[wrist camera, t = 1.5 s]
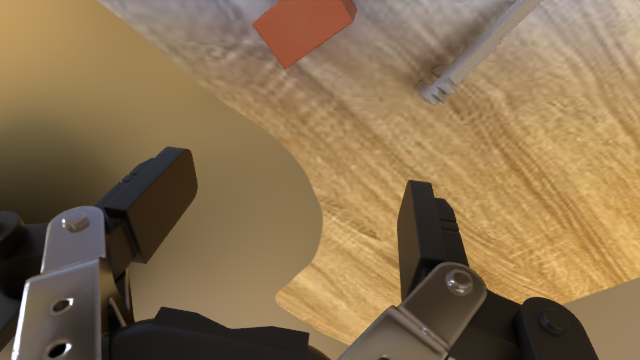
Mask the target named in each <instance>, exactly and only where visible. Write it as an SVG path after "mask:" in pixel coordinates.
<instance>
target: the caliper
mask: <svg viewBox="0 0 640 360" xmlns="http://www.w3.org/2000/svg"><path fill="white" fill-rule="evenodd" d="M541 1H542V0H517V1H516V2H515V3H514V4H513V5H512V6H511V7H510V8H509V9H508V10H507V11H506V12H505V13H504V14H503V15H502V16H501V17H500V18H498V19H497V20H496V21H495V22H494V23H493V24H492V25H491V26H490V27H489V28H488V29H487V30H486V31H485V32H484V33H479V34H478V35H477V36H476V37H475V38H474V39H473V41H472V42H471V43H470V44H468V45H467V46H466V47H465V48H464V49H463V50H462V52H461V53H460V54H459V55H458V56H457V58H456V59H455V60H454V61H453V62H452V63H451V64H446V65H442V66H437V67H435V68H433V69H432V70H431V71H432V72H433V73H434V74H435V75H436V76H437V77H438V79H437V80H436V81H435V82H434V83H433V84H432V85H430V84H427V83H425V82H422V81H420V82H419V83H418V85H417V86H418V90H419V94H420V96H421V97H422V98H423V99H424V100H425V101H426V102H428V103H430V104H432V105H434V106H435V105H436V104H437V103H438V102H439V101H441V102H442V103H445V102H446V96H445V94H446V95H450V94H454V93H456V91H455V90H454V88H453V87H452V86H454V85H457V84H459V83H460V82H461V81H462V80H463V79H464V78H465V77H466V76H467V75H468V74H469V73H470V72H471V71H472V70H473V69H474V68H475V67H476V66H477V65H478V64H479V63H480V62H482V61H483V60H484V59H485V58H486V57H487V56H488V55H489V54H490V53H491V52H492V51H493V50H494V49H495V48H496V47H497V46H498V45H499V44H500V43H501V42H500V41H501V40H502V39H503V38H504V37H505V36H506V35H507V34H508V33H509V32H510V31H511V30H512V29H513V28H514V27H515V26H516V25H517V24H518V23H519V22H520V21H521V20H523V19H524V18H525V17H526V16H527V15H528V14H529V13H530V12H531V11H532V10H533V9H534V8H535V7H536V6H537V5H538V4H539V3H540V2H541Z"/></svg>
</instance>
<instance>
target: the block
mask: <svg viewBox="0 0 640 360" xmlns="http://www.w3.org/2000/svg"><path fill="white" fill-rule="evenodd" d="M356 12H357V9H356V7H355V5H354V3H353V2H352V0H280V1H279V2H278V3H276V4H275V5H274V6H273V7H272V8H270V9H269V10H268V11H267V12H266V13H264V14H263V15H262V16H261V17H260V18H258V19H257V20H256V21H255V22H254V23H253V26H254V27H255V29H256V30H257V31H258V33H259V34H260V36H261V37H262V38H263V40H264V41H265V43H266V44H267V45H268V47H269V48H270V50H271V51H272V52H273V54H274V55H275V57H276V58H277V59H278V61H279V62H280V64H281V65H282V66H283V68H284V69H287V68H288V67H289V66H291V65H292V64H294V63H295V62H296V61H298V60H299V59H301V58H302V57H304V56H305V55H306V54H308V53H309V52H311V51H312V50H313V49H315V48H316V47H318V46H319V45H320V44H322V43H323V42H325V41H326V40H328V39H329V38H330V37H332V36H333V35H335V34H336V33H337V32H339V31H340V30H342V29H343V28H345V27H346V26H347V25H349V24H350V23H352V22H353V20H354V17H355V15H356Z"/></svg>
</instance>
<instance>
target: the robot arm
mask: <svg viewBox="0 0 640 360" xmlns="http://www.w3.org/2000/svg"><path fill="white" fill-rule="evenodd" d="M197 188H198V184H197V178H196V173H195V168H194V162H193V157H192V153H191V151H190V150H189V149H183V148H175V147H166V148H165V149H164V150H163V151H161V153H159V154H158V155H157V156H156V157H155V158H151V159H149V160H147V161H145V162H143V163H141V164H139V165H138V166H137V167H135V168H134V169H133V170H132V171H131V172H130V173H129V175H127V176H125V177H124V178H123V179H122V182H119V183H118V184H117V185H115V186H114V187H113V188H112V189H111V190H110V191H109V192H108V193H107V194H106V195H104V196H103V197H102V198H101V199H100V200H99V201H98V202H97V203H96V204H94V205H93V206H81V207H76V208H72V209H70V210H67V211H65V212H63V213H61V214H59V215H58V216H56V217H55V218H54V219H53V220H52V221H51V222H50V223H42V224H29V225H24V223H23V221H22V220H21V218H20V217H19V215H18V214H16V213H14V212H10V211H1V212H0V352H1V350H2V349H3V348H4V347H5V346H6V345H7V343H9V341H10V340H11V339H12V338H13V337H14V336H15V334H16V336H15V341H14V347H13V352H12V358H11V360H331V359H330V358H328V357H327V356H326V355H325V354H324V353H322V352H321V351H319V350H318V349H316V348H314V347H312V346H310V345H308V343H309V333H307V332H302V331H296V330H291V329H285V328H279V327H273V326H268V327H256V328H240V329H230V328H227V327H225V326H223V325H220V324H219V323H216V322H214V321H212V320H210V319H208V318H206V317H204V316H202V315H200V314H198V313H195V312H189V311H183V310H178V309H173V308H167V307H161V308H160V310H159V311H158V313H157V315H156V316H155V318H152V319H146V320H141V321H138V322H135V321H134V315H133V306H132V297H131V288H130V278H129V272H128V269H127V267H128V266H129V264H130V263H131V262H138V263H144V264H147V262H148V261H149V260H150V258H151V257H152V255H153V254H154V252H155V251H156V250H157V249H158V247H159V246H160V244H161V243H162V242H163V240H164V239H165V237H166V236H167V235H168V234H169V232H170V231H171V230H172V228H173V227H174V226H175V224H176V223H177V221H178V220H179V219H180V217H181V216H182V214H183V213H184V212H185V211H186V209H187V208H188V206H189V205H190V204H191V202H192V201H193V200H194V198H195V196H196V193H197ZM397 235H398V251H399V267H400V283H401V299H402V303H401V304H400V305H399V306H397V307H395V306H394V305H392V306H390V307H388V308H387V309H386V310H385V311H384V312H383V313H382V314H381V315H380V316H379V317H378V318H377V319H376V320H375V321H374V322H373V323H372V324H371V325H370V326H369V327H368V328H367V329H366V330H365V331H364V332H363V333H362V334H361V335H360V336H359V337H358V338H357V339H356V340H355V341H354V342H353V343H352V344H351V345H350V346H349V347H348V348H347V350H346V351H345V352H344V353H343V354H342V355H341V356H340V357H339V358H338V359H337V360H448V359H449V358H450V357H451V358H453V359H455V360H599V359H598V357H597V355H596V353H595V351H594V348H593V347H592V344H591V342H590V340H589V338H588V336H587V334H586V332H585V329H584V327H583V326H582V324H581V323H580V322H579V320H578V319H577V318H576V317H575V315H574V314H572V313H571V312H570V311H569V310H567V309H566V308H565V307H564V306H562V305H560V304H559V303H557V302H555V301H552V300H550V299H546V298H542V297H532V298H529V299H527V300H525V301H524V303H523V304H522V305H521V304H518V303H516V302H514V301H511V300H509V299H507V298H504V297H502V296H499V295H497V294H495V293H493V292H491V291H490V290H488V289H487V288H486V285H485V283H484V281H483V279H482V278H481V277H480V276H479V275H478V274H477V273H476V272H475V271H474V270H472V269H471V268H470V267H469V264H468V260H467V257H466V253H465V250H464V246H463V243H462V239H461V235H460V233H459V228H458V225H457V223H456V218H455V214H454V210H453V209H452V208H451V206H450V205H449V204H448V203H447V202H446V200H445V199H441V198H434V193H433V189H432V185H431V183H429V182H422V181H414V180H409V181H408V183H407V186H406V189H405V193H404V196H403V200H402V204H401V207H400V211H399V215H398V222H397Z"/></svg>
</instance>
